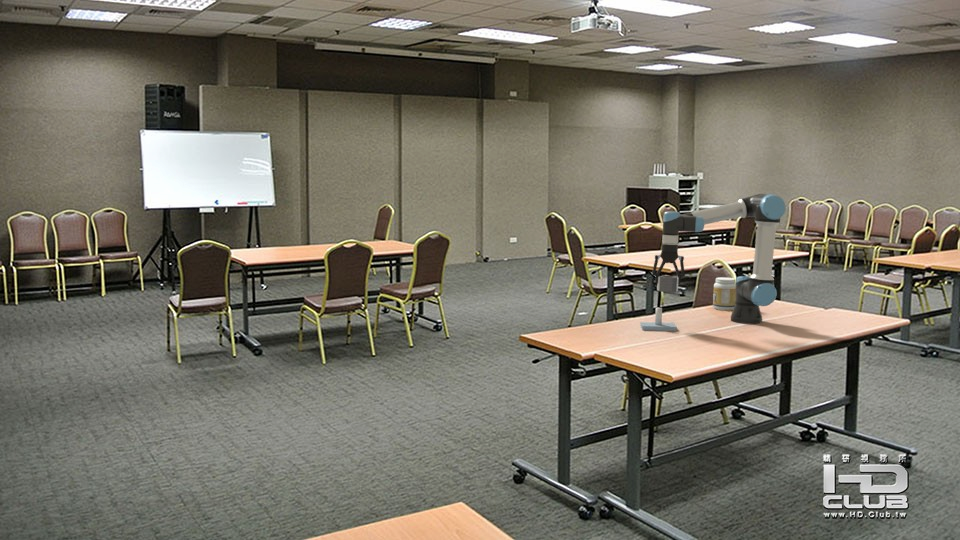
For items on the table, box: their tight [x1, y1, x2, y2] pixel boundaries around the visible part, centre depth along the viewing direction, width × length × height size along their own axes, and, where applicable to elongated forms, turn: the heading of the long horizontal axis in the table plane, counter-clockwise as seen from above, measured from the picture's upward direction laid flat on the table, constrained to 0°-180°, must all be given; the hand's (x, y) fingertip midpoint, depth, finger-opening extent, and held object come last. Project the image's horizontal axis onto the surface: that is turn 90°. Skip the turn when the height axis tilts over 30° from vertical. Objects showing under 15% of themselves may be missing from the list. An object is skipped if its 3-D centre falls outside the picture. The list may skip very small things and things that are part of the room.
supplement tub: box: [712, 276, 736, 311], centre depth 440 cm, size 12×12×17 cm
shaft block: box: [640, 307, 678, 332], centre depth 384 cm, size 16×10×10 cm, turn 84°
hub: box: [658, 275, 678, 293], centre depth 384 cm, size 8×8×7 cm
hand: (667, 290), depth 385 cm, fingers closed on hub, 8 cm apart
